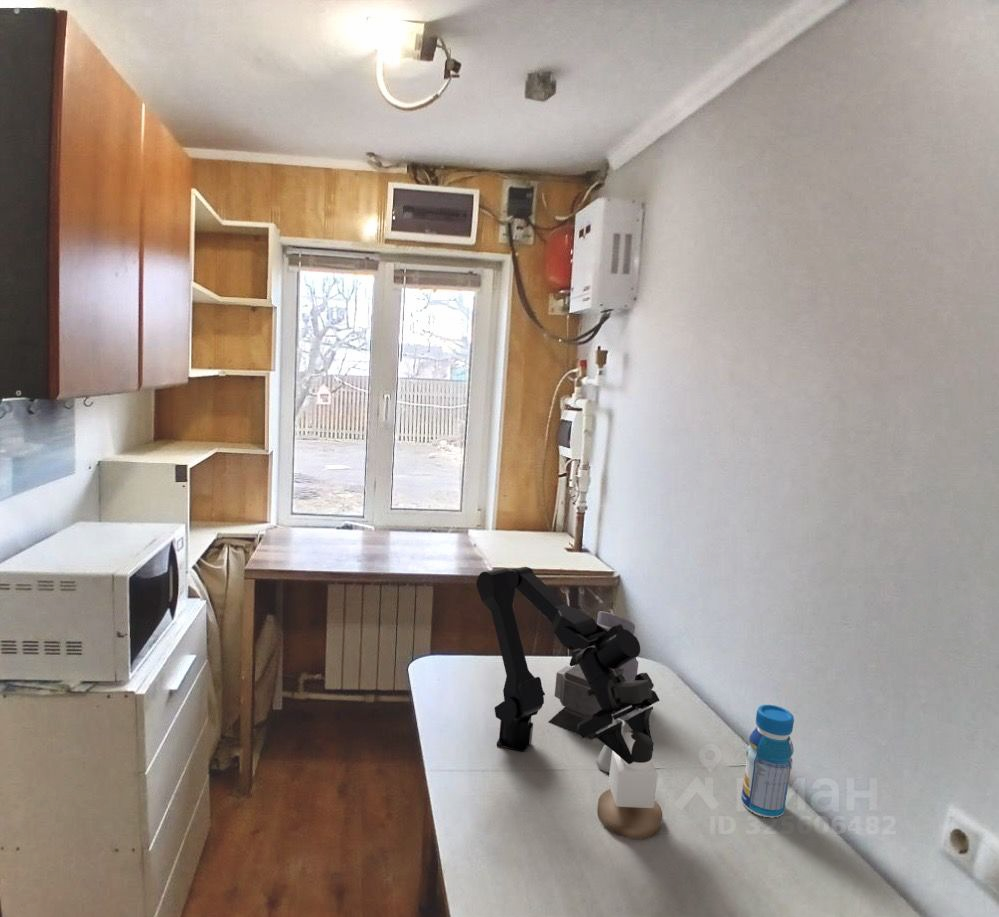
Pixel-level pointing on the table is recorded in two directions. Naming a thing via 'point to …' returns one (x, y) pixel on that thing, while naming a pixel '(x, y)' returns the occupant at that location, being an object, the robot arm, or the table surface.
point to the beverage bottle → (768, 762)
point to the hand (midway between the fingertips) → (641, 757)
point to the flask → (607, 753)
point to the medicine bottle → (634, 773)
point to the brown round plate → (629, 818)
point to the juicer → (586, 684)
